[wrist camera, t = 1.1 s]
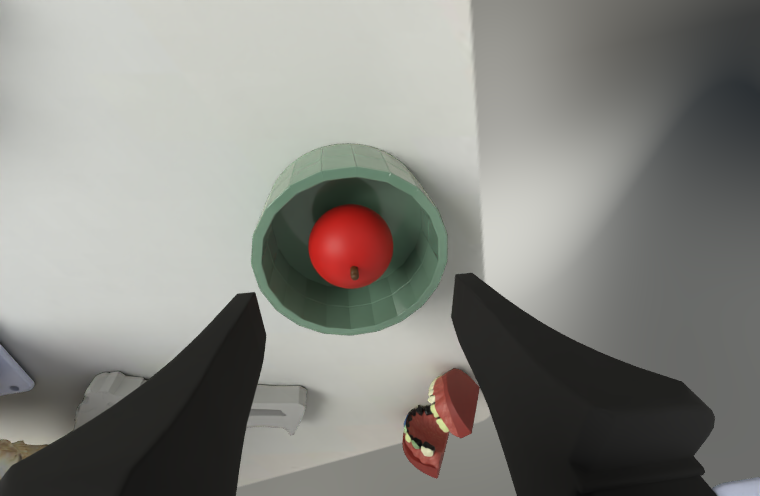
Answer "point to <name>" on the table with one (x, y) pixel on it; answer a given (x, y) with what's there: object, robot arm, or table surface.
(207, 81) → the table surface
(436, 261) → the bowl
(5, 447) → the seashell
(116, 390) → the toy gun
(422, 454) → the dentures model
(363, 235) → the apple
